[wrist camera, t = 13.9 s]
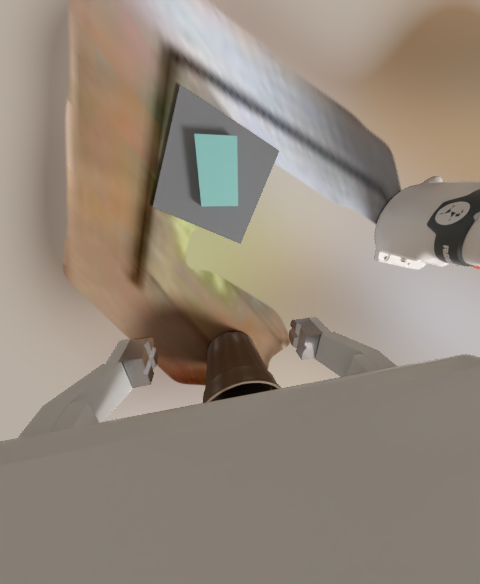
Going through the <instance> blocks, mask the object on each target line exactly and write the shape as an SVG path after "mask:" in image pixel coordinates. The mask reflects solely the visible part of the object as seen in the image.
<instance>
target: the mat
mask: <svg viewBox="0 0 480 584" xmlns="http://www.w3.org/2000/svg"><path fill="white" fill-rule="evenodd" d="M194 134H211V135H229V136H237V157H238V206H203V207H201V198H200V188H199V177H198V167H197V157H196V147H195V137H194ZM278 152H279V151H278V150H277V149H275V148H274V147H272V146H271V145H270V144H268V143H267V142H265V141H264V140H262V139H261V138H259V137H258V136H256V135H255V134H253V133H252V132H250V131H249V130H247V129H246V128H244V127H243V126H241V125H240V124H238V123H237V122H235V121H234V120H232V119H231V118H229V117H228V116H226V115H225V114H223V113H222V112H220V111H219V110H217V109H216V108H214V107H213V106H211V105H210V104H208V103H207V102H205V101H204V100H202V99H201V98H199V97H198V96H196V95H195V94H193V93H192V92H190V91H189V90H187V89H186V88H184V87H183V86H181V85H180V87H179V91H178V96H177V100H176V105H175V109H174V114H173V118H172V123H171V127H170V132H169V136H168V141H167V145H166V150H165V154H164V159H163V163H162V168H161V172H160V176H159V181H158V185H157V190H156V194H155V199H154V203H153V207H154V208H156V209H159V210H161V211H163V212H166V213H168V214H171V215H173V216H175V217H178V218H180V219H183V220H185V221H187V222H190V223H192V224H195V225H197V226H199V227H202V228H204V229H207V230H209V231H211V232H214V233H216V234H219V235H221V236H223V237H226V238H228V239H231V240H233V241H236V242H238V243H241V241H242V239H243V236H244V234H245V232H246V229H247V227H248V224H249V222H250V220H251V217H252V215H253V212H254V210H255V208H256V205H257V203H258V200H259V198H260V196H261V193H262V191H263V188H264V186H265V184H266V181H267V178H268V176H269V174H270V171H271V169H272V167H273V164H274V162H275V160H276V157H277V155H278Z"/></svg>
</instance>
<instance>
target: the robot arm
mask: <svg viewBox="0 0 480 584" xmlns="http://www.w3.org/2000/svg"><path fill="white" fill-rule="evenodd" d="M375 243H376V251H375V260H376V261H378V262H383V263H388V264H392V265H397V266H402V267H406V268H412V269H416V270H418V269H421V268H422V267H424V266H425V265H426V264H428V263H429V264H433V265H437V266H441V267H442V266H445V265H448V264H453V265H458V266H472V267H474V268H477V269H480V182H478V181H466V182H465V181H463V182H443V181H442V179H441V177H439V176H436V177H435V176H434V177H431V178H429V179H427V180H426V181H424V182H423V183H421V184H419V185H414V186H410V187H408V188H405V189H404V190H402V191H400V192H399V193H398V194H396V195H395V196H394V197H393V198H392V199H391V200H390V201H389V203H388V204H387V205H386V206H385V208H384V209H383V211H382V213H381V215H380V217H379V219H378V222H377V225H376V229H375ZM291 327H292V329H291V330H290V331H289V339H290V342H291V344H292V346H294V347H295V348H297V350H296V352H297V354H298V355H299V357H300V358H301V360H304V359H311V358H315V359H316V360H318V361H319V362H320V363H322V364H323V365H325V366H326V367H328V368H329V369H330V370H332V371H333V372H335V373H336V374H338V375H339V376H341V377H339V378H334V379H329V380H323V381H318V382H313V383H307V384H302V385H297V386H291V387H286V388H281V389H275V390H270V391H265V392H260V393H254V394H249V395H244V396H238V397H233V398H228V399H222V400H217V401H212V402H207V403H201V404H196V405H191V406H185V407H180V408H175V409H169V410H164V411H160V412H154V413H148V414H143V415H138V416H133V417H127V418H122V419H116V420H112V421H106V422H104V421H105V420H106V418H107V417H108V416H109V415H110V414H111V413H112V412H113V411H114V409H115V408H116V407H117V406H118V404H120V402H121V401H122V400H123V399H124V398H125V397H126V396H127V395H128V393H129V392H130V391H131V390H132V389H133V388H135V387H140V386H145V385H150V384H151V381H152V378H153V375H154V372H153V369H154V368H155V367H156V364H157V357H158V356H157V350H156V348H154V347H153V345H154V340H153V338H152V337H145V338H135V339H127V340H121V341H120V342H119V343H118V344H117V346H116V348H115V349H114V351H113V353H112V354H111V356H110V358H109V359H108V361H107V362H106V364H102V365H101V366H99V367H98V368H96V369H95V370H94V371H92V372H91V373H89V374H88V375H87V376H85V377H84V378H82V379H81V380H79V381H78V382H77V383H75V384H74V385H72V386H71V387H69V388H68V389H67V390H65V391H64V392H62V393H61V394H59V395H58V396H57V397H55V398H54V399H52V400H51V401H49V402H48V403H47V404H45V405H44V406H43V407H42V408H41V409H40V411H39V412H38V413H37V414H36V416H35V417H34V418H33V419H32V421H31V422H30V423H29V424H28V426H27V427H26V428H25V429H24V431H23V432H22V433H21V434H20V436H19V437H18V438H16V439H11V440H5V441H0V584H480V357H476V356H472V355H466V354H465V355H455V356H450V357H445V358H440V359H435V360H429V361H424V362H419V363H414V364H408V365H403V366H396V365H395V364H394V363H392V362H391V361H390V360H389V359H388V358H387V357H385V356H384V355H383V354H382V353H380V352H379V351H378V350H376V349H373V348H371V347H368V346H366V345H363V344H361V343H359V342H356V341H354V340H352V339H349V338H347V337H345V336H342V335H340V334H337V333H335V332H331V331H330V330H329V329H328V328H327V327H326V326H324V324H323V323H322V322H321V321H320V320H319V319H318V318H316V317H309V318H303V319H296V320H292V321H291Z"/></svg>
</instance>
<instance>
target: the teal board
mask: <svg viewBox="0 0 480 584" xmlns="http://www.w3.org/2000/svg"><path fill="white" fill-rule="evenodd" d="M194 137H195V147H196V157H197V167H198V177H199V188H200V198H201V207H203V206H238V157H237V136H229V135H211V134H194Z"/></svg>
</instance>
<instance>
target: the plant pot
mask: <svg viewBox="0 0 480 584" xmlns="http://www.w3.org/2000/svg"><path fill="white" fill-rule="evenodd" d="M275 389H281V387H280V386H279V385H278V384H277V383H276V381H275V379H274V378H273V376H272V374H271V373H270V372H269V371H268V370H267V368H266V366H265V364H264V362H263V360H262V359H261V357H260V355H259V353H258V351H257V349H256V347H255V345H254V343H253V341H252V339H251V338H250V337H249V336H248V335H246V334H245V333H242V332H238V331H236V332H226V333H223V334H221V335H219V336H217V337H216V338H215V339H214V340H213V341H212V342H211V343H210V345H209V347H208V353H207V372H206V388H205V391H204V396H203V403H207V402H212V401H217V400H222V399H228V398H233V397H238V396H244V395H249V394H254V393H260V392H265V391H270V390H275Z"/></svg>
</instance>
